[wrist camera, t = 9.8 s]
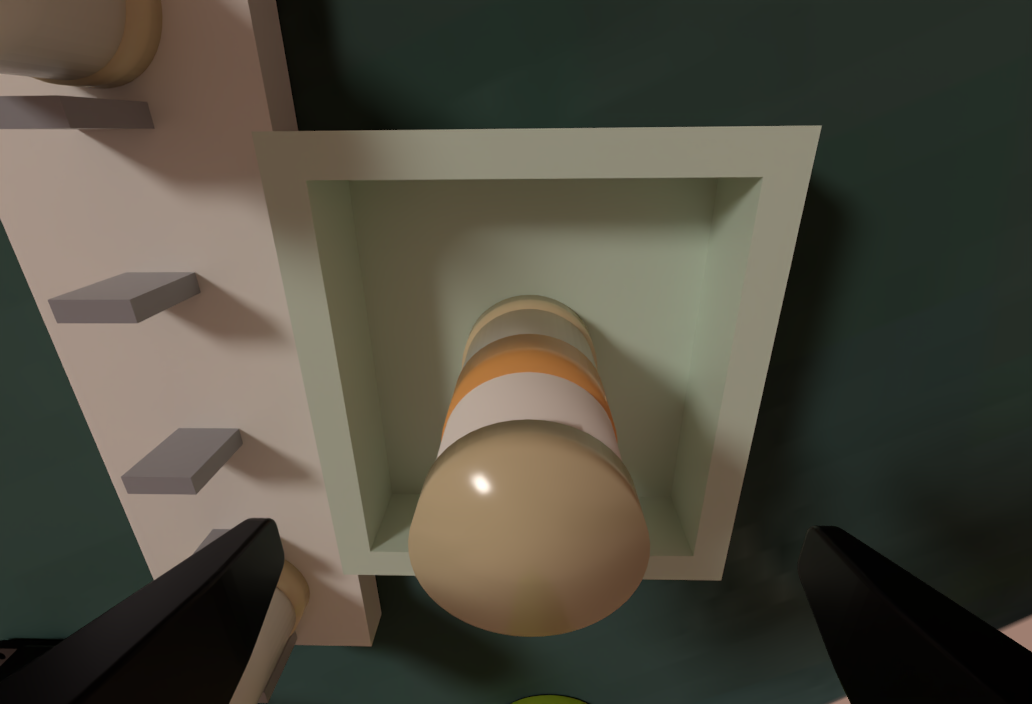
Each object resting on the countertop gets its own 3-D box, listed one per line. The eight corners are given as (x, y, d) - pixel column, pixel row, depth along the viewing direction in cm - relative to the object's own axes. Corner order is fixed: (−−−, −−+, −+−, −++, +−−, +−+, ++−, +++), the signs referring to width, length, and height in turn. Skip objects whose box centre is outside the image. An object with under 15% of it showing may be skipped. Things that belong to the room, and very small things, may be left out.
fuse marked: (590, 411, 16) (638, 638, 9) (468, 410, 16) (418, 634, 9) (596, 294, 15) (662, 455, 7) (462, 294, 15) (395, 453, 7)
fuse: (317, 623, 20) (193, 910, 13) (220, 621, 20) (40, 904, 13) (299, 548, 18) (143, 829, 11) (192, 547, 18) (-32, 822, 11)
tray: (688, 503, 19) (721, 580, 16) (375, 500, 19) (343, 574, 16) (752, 126, 13) (821, 125, 10) (316, 131, 14) (251, 131, 11)
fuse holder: (381, 613, 22) (351, 711, 18) (202, 610, 22) (137, 706, 18) (245, -173, 11) (108, -319, 8) (-95, -164, 11) (-386, -300, 8)
